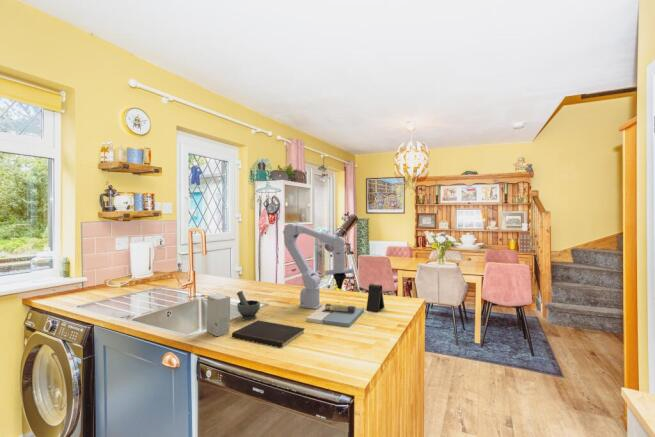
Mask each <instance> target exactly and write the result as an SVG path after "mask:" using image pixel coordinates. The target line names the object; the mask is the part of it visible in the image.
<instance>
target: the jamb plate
mask: <svg viewBox="0 0 655 437" xmlns="http://www.w3.org/2000/svg"><path fill="white" fill-rule="evenodd" d="M325 305H326V304H325ZM325 305H322V306H320V307H319V308H317V309H316V310H315V312H313V313H312V314H310V315H309V316H307V317H306V321H305V322H308V323H315V324H316V323H317V324H323V319H325V318H326V317H327V316H328V315H330V314H331V313H332V312H333V310H325Z"/></svg>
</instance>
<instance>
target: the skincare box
mask: <svg viewBox="0 0 655 437" xmlns="http://www.w3.org/2000/svg"><path fill="white" fill-rule="evenodd" d="M206 301H207V302H206V303H207V304H206V330H207V331H206V330H205V331H206V333H208V332H209V334H210V333H211V335H212V334H213V336H214V335H215V337H216V336H218V337H220V335H221V336H224V335H223V334H225V333H228V332H229V333H230V326H231V325H230V322H231V321H230V320H231V296H228V295H226V294H223V293H215V294H208V295H207V299H206ZM229 333H228V334H229ZM225 335H226V334H225Z"/></svg>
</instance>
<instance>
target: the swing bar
mask: <svg viewBox="0 0 655 437" xmlns="http://www.w3.org/2000/svg"><path fill="white" fill-rule="evenodd" d="M355 306H356V305H351V306H346V305H342V304H341V305H340V304H331V303H326V304H325V310H333V311H346V312H354V311H355Z"/></svg>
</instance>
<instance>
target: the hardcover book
mask: <svg viewBox="0 0 655 437" xmlns="http://www.w3.org/2000/svg"><path fill="white" fill-rule="evenodd" d="M305 329H306V328H303V327H298V326H293V325H292V326H291V325H288V324H287V325H286V324H281V323H275V322H272V321H271V322H270V321H264V320H256V321H254V322H252V323H249V324H248V325H246V326H244V327H241V328H239V329H236V330H235V331H233V332H232V333H231V338H232V337H235V338H234V339H237V338H240V339H239V340H242V339H245V340H244V341H247V340H249V341H248V342H251V341H254V342H253V343H256V342H258V344H261V343H262V344H261V345H265V344H267V345H266V346H270V345H272V346H271V347H275V346H277V347H276V348H280V347H282V348H283V347H285V346H286V345H288V344H290V343H291V342H292V341H294V340H296V339H297V338H298V337H299V336H301V335H302V334H304V330H305ZM296 337H297V338H296ZM293 339H294V340H293ZM290 341H291V342H290ZM287 343H288V344H287ZM284 345H285V346H284Z"/></svg>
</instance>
